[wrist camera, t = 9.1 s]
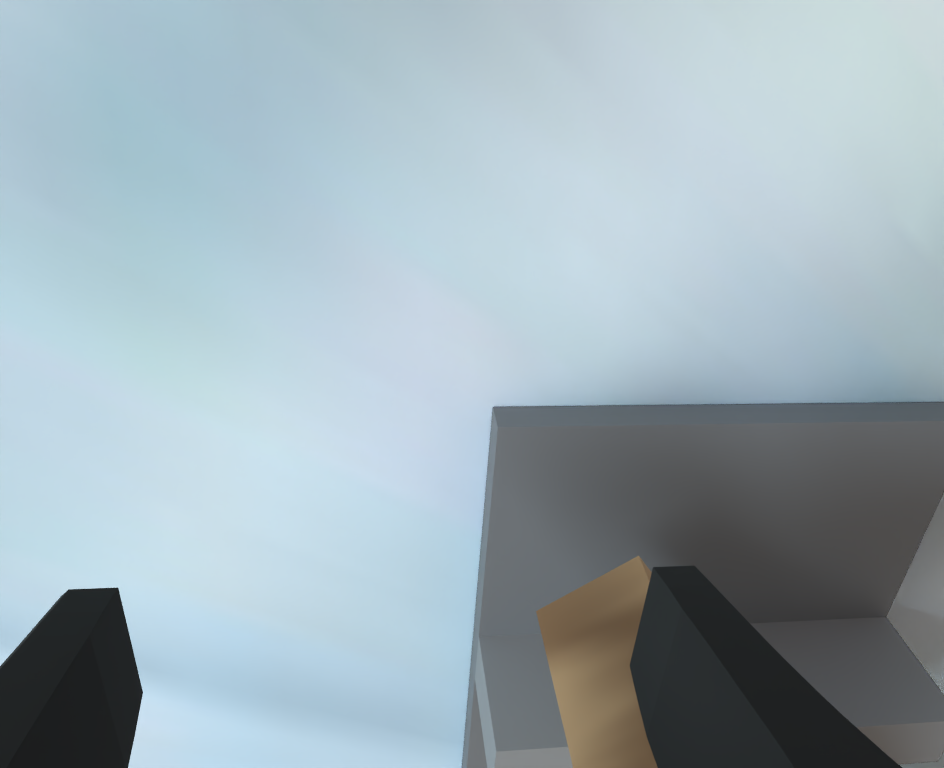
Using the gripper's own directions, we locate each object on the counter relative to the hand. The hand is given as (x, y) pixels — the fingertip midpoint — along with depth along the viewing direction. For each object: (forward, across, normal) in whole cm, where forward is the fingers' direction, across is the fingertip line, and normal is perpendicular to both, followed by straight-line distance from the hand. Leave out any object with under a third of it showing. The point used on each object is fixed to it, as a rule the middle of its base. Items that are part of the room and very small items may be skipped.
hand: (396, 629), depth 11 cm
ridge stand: (+10, -10, +12) cm, 19 cm away
